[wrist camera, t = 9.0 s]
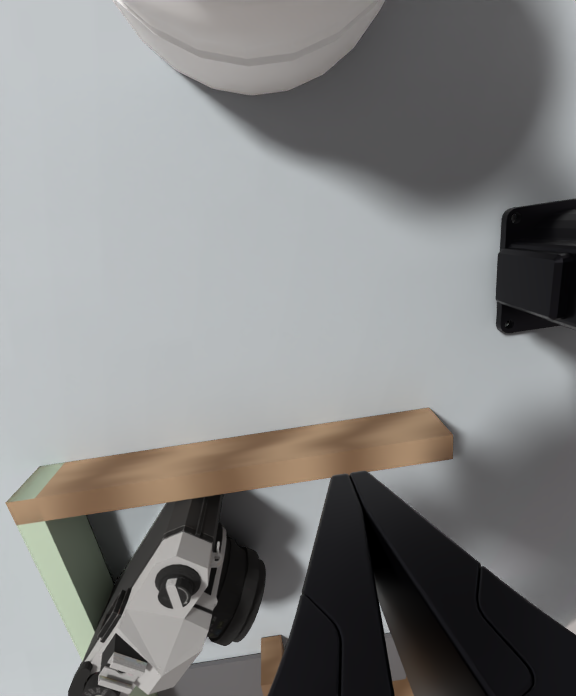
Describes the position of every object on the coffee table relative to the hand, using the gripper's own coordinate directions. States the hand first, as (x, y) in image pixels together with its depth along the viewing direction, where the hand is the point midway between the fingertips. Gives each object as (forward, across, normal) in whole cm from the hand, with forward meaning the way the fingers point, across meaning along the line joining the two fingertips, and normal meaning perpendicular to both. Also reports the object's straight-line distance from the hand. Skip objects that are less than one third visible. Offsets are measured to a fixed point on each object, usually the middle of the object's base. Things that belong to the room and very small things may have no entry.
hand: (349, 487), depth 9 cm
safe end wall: (+12, +16, +18) cm, 27 cm away
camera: (+12, +9, +13) cm, 20 cm away
